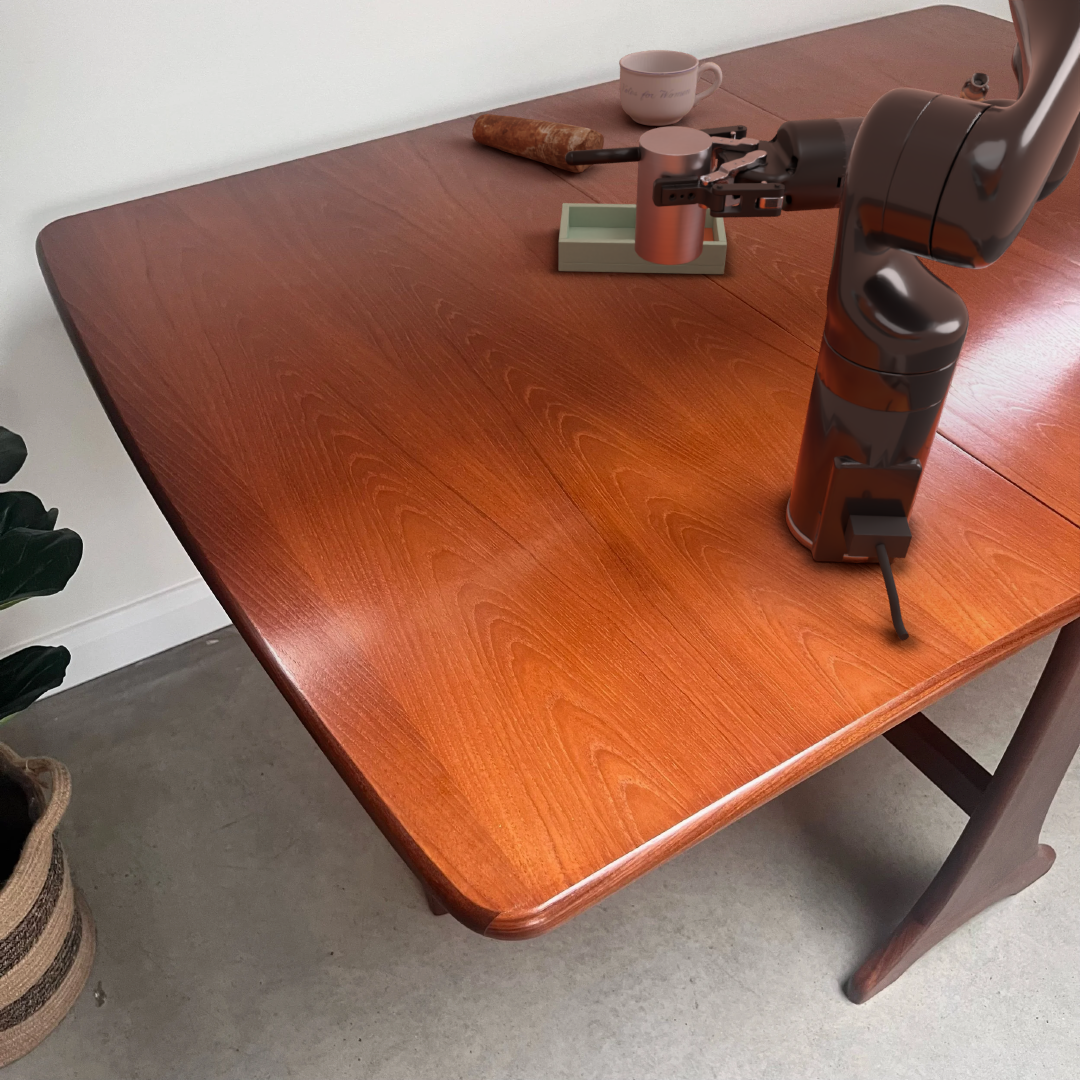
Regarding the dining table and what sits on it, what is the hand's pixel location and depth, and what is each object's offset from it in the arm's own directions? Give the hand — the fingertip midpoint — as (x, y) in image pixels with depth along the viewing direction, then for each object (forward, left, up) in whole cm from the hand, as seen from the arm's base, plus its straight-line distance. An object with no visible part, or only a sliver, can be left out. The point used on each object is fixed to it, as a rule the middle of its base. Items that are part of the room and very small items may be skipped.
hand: (646, 176), depth 90 cm
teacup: (+59, -5, -18) cm, 62 cm away
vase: (+62, -47, -18) cm, 80 cm away
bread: (+45, +13, -18) cm, 50 cm away
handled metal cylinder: (0, +1, -7) cm, 7 cm away
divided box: (+20, -1, -18) cm, 27 cm away
